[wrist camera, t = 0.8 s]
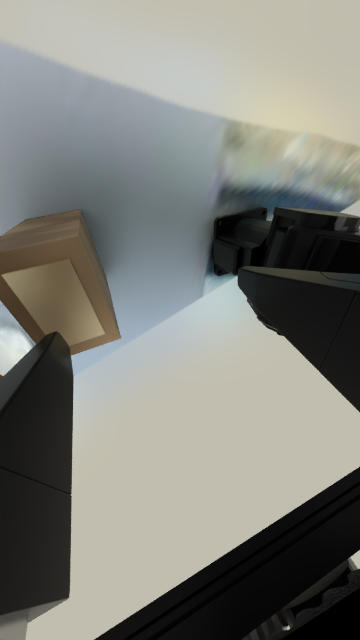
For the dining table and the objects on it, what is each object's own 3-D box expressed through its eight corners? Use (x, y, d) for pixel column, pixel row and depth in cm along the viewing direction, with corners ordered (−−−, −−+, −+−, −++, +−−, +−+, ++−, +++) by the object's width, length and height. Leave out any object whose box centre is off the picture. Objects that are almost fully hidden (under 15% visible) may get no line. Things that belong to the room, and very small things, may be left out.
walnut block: (80, 209, 16) (78, 236, 8) (106, 277, 19) (121, 339, 12) (25, 219, 15) (-35, 260, 7) (63, 288, 18) (50, 364, 11)
